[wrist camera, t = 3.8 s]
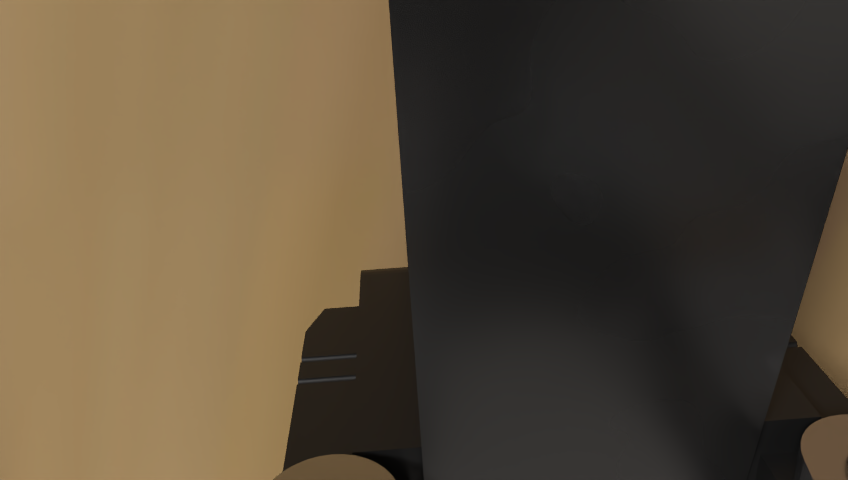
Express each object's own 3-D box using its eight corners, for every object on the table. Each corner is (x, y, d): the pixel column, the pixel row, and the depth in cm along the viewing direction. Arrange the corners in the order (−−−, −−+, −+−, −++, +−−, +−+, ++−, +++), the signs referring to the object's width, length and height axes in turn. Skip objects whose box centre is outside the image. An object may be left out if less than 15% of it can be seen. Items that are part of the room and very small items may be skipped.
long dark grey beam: (857, -222, 7) (1270, -203, 4) (672, 550, 14) (763, 791, 11) (194, -184, 7) (35, -129, 4) (340, 577, 14) (331, 830, 11)
